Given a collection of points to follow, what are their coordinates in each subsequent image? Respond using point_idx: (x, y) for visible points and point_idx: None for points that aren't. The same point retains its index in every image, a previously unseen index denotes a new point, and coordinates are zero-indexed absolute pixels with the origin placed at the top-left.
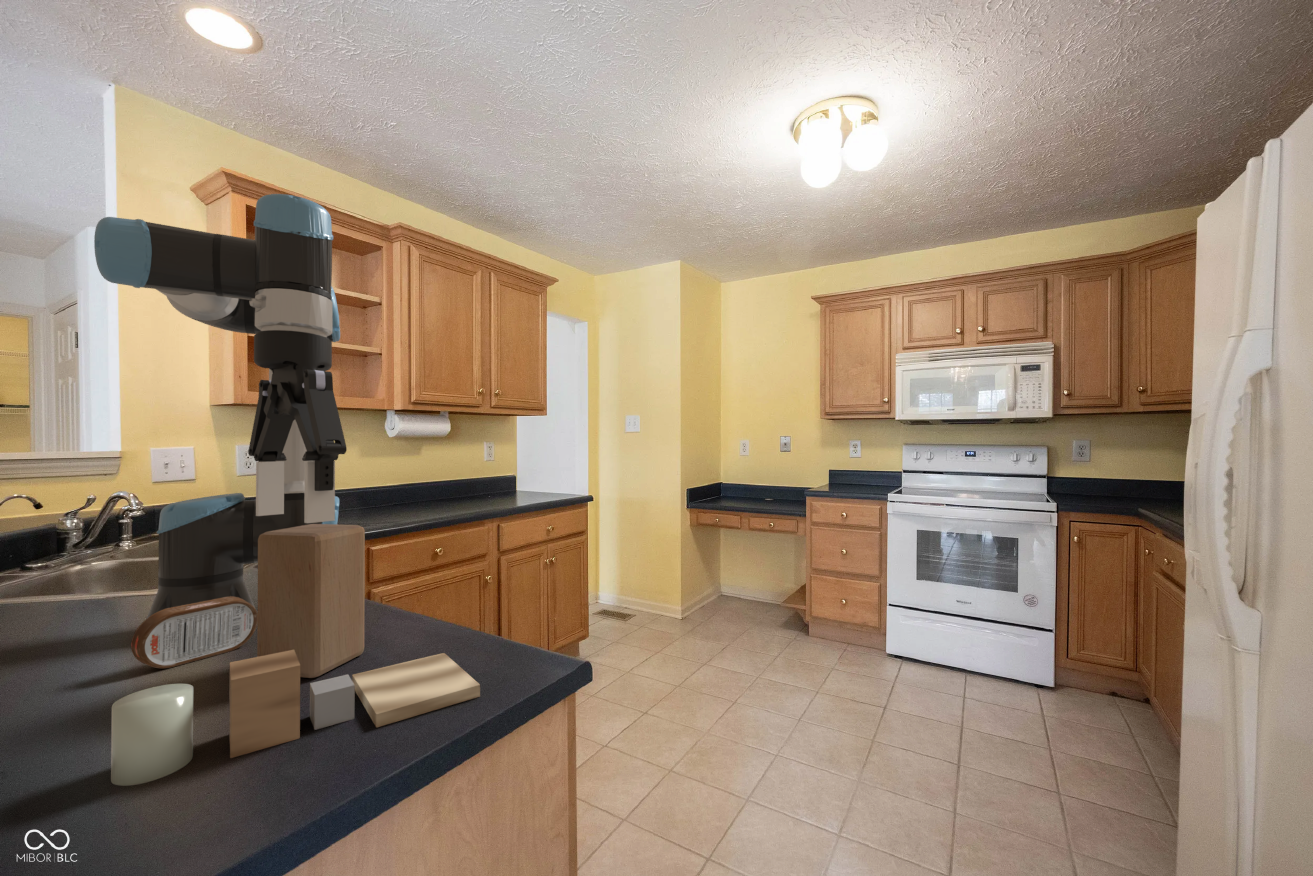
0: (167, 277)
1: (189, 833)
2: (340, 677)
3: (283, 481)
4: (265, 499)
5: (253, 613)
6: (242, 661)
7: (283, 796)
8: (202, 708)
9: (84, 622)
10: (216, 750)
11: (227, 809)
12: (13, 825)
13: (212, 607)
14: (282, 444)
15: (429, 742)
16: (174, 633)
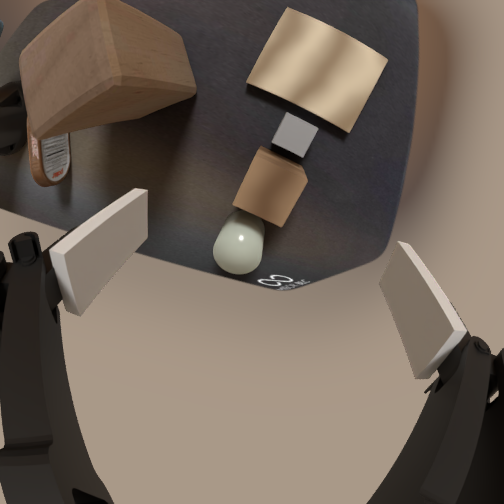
0: None
1: (340, 253)
2: (287, 120)
3: (104, 224)
4: (131, 242)
5: None
6: (241, 198)
7: (360, 216)
8: (171, 172)
9: None
10: None
11: (340, 235)
12: (244, 282)
13: None
14: (41, 311)
15: (400, 137)
16: (52, 161)
